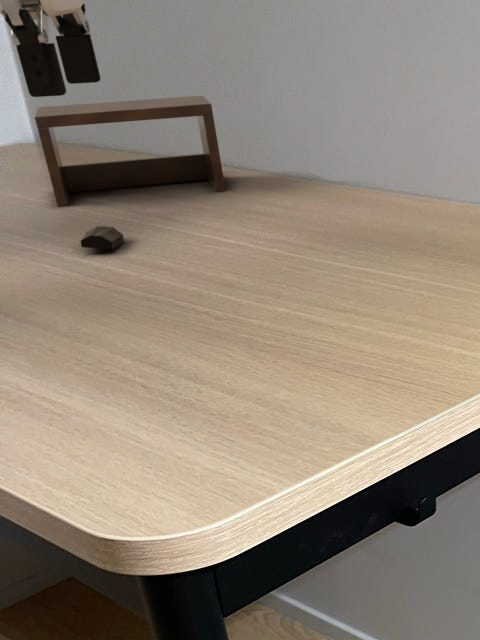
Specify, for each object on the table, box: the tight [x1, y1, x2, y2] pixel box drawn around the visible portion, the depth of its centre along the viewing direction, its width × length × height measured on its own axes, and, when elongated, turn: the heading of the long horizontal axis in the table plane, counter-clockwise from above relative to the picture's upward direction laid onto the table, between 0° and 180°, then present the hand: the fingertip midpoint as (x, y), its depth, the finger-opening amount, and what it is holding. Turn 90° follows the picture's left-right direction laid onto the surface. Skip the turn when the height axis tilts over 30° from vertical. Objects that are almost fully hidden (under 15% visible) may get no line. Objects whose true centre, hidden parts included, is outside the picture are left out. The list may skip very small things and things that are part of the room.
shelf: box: [34, 95, 227, 207], centre depth 123 cm, size 20×10×10 cm, turn 109°
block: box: [80, 225, 125, 250], centre depth 100 cm, size 4×6×2 cm, turn 11°
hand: (67, 88), depth 93 cm, fingers open, 9 cm apart
